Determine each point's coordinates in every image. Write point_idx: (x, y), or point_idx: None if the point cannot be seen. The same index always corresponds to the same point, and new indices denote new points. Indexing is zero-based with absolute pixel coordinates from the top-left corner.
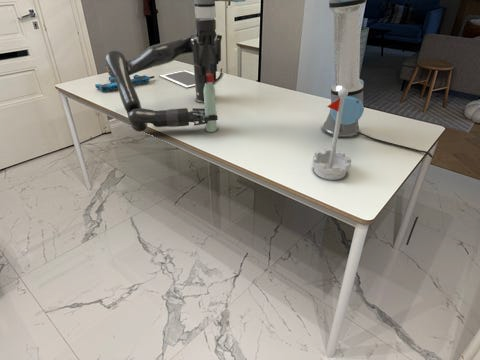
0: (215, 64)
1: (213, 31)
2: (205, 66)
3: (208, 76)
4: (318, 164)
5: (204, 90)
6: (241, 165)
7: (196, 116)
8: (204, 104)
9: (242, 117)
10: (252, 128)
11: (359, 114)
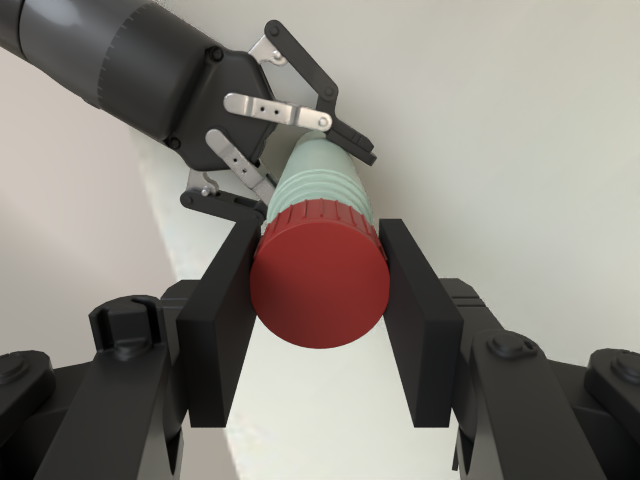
0: (447, 426)
1: None
2: (223, 424)
3: (281, 335)
4: None
5: (268, 219)
6: (231, 442)
7: (220, 163)
8: (282, 173)
9: (551, 139)
10: (474, 273)
11: None
